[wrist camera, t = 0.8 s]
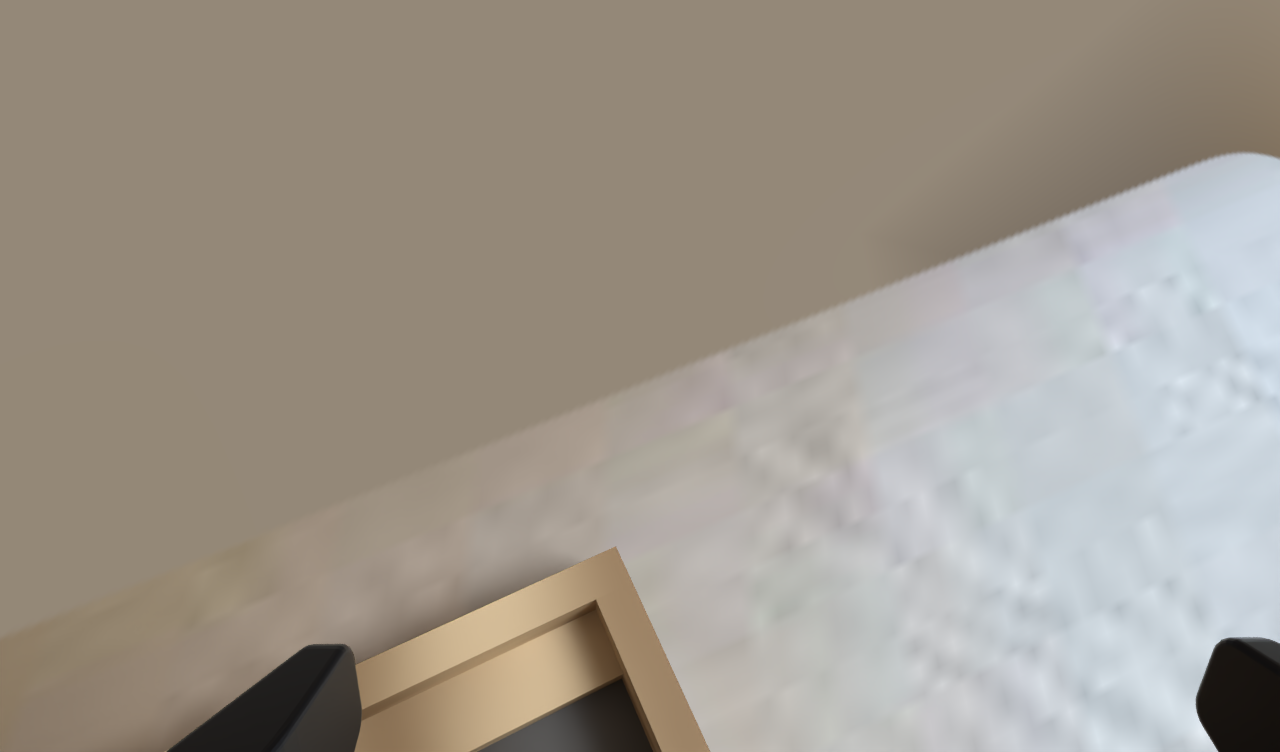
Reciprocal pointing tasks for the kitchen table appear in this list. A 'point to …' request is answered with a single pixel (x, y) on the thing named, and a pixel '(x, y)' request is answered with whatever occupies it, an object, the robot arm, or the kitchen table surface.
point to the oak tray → (533, 676)
